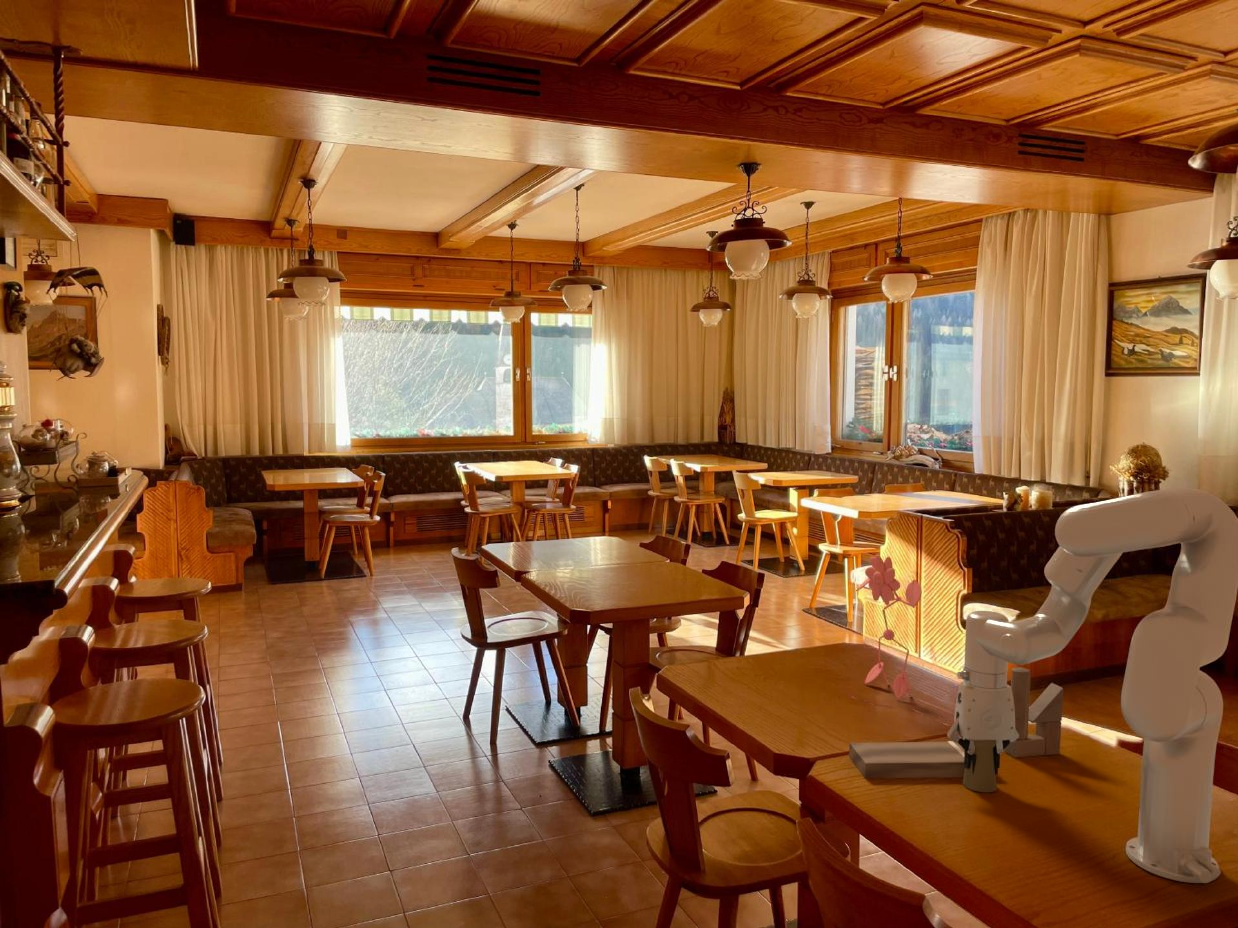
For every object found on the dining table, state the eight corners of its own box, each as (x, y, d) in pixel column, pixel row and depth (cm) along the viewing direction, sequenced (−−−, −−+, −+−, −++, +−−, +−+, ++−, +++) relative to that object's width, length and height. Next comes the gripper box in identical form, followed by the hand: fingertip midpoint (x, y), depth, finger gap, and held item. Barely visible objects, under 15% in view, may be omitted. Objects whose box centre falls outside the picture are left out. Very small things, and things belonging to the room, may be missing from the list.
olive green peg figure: (960, 787, 166) (963, 731, 165) (964, 775, 172) (966, 720, 171) (995, 794, 164) (998, 737, 163) (998, 782, 169) (1000, 726, 168)
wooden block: (1060, 754, 183) (1064, 669, 181) (1014, 758, 181) (1018, 672, 179) (1048, 747, 186) (1052, 664, 185) (1003, 751, 184) (1007, 667, 183)
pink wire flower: (872, 674, 234) (874, 544, 231) (936, 707, 210) (939, 562, 206) (821, 680, 229) (823, 548, 226) (881, 715, 205) (884, 567, 202)
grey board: (996, 776, 172) (996, 761, 172) (865, 778, 170) (865, 762, 170) (973, 755, 182) (973, 740, 182) (849, 756, 180) (849, 742, 180)
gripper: (950, 684, 162) (947, 781, 163) (1038, 683, 163) (1034, 779, 164) (934, 671, 169) (930, 764, 171) (1018, 670, 170) (1014, 763, 172)
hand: (981, 770), depth 167 cm, fingers closed on olive green peg figure, 3 cm apart
